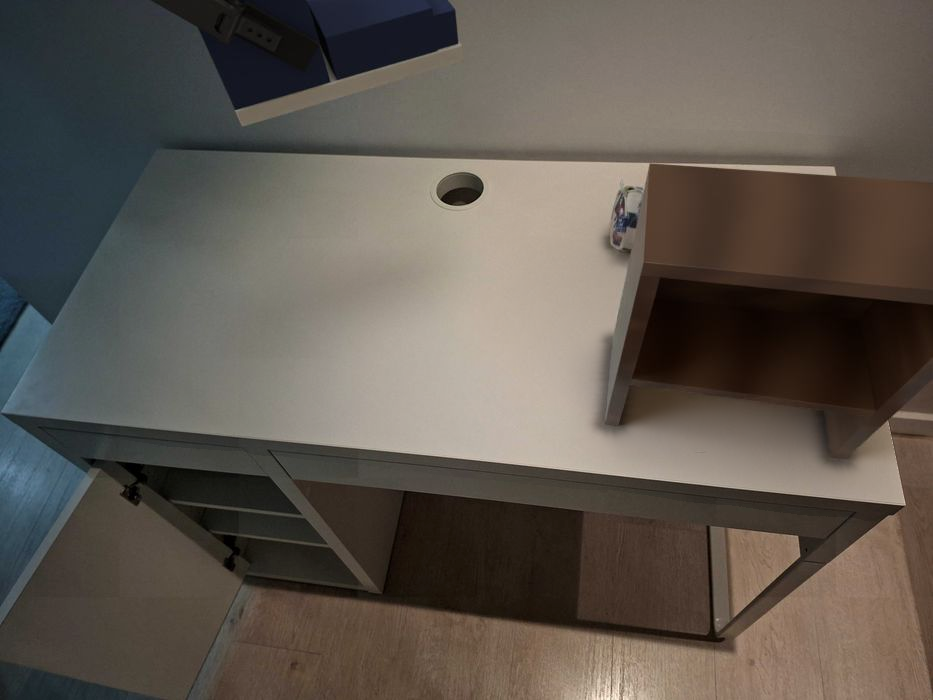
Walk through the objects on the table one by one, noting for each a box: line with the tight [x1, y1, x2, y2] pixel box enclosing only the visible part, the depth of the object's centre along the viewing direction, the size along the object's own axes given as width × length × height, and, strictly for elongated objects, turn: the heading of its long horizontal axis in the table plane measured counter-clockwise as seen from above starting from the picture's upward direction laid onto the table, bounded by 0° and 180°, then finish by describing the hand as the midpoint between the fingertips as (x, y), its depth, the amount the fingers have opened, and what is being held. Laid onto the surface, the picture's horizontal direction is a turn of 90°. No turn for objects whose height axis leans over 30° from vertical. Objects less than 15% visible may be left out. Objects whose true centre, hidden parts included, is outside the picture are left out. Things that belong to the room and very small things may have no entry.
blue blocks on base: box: [197, 0, 464, 127], centre depth 54 cm, size 22×8×12 cm, turn 111°
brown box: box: [604, 163, 933, 460], centre depth 59 cm, size 26×12×28 cm, turn 78°
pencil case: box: [609, 178, 644, 252], centre depth 80 cm, size 22×8×10 cm, turn 84°
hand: (300, 34), depth 54 cm, fingers closed on blue blocks on base, 8 cm apart
